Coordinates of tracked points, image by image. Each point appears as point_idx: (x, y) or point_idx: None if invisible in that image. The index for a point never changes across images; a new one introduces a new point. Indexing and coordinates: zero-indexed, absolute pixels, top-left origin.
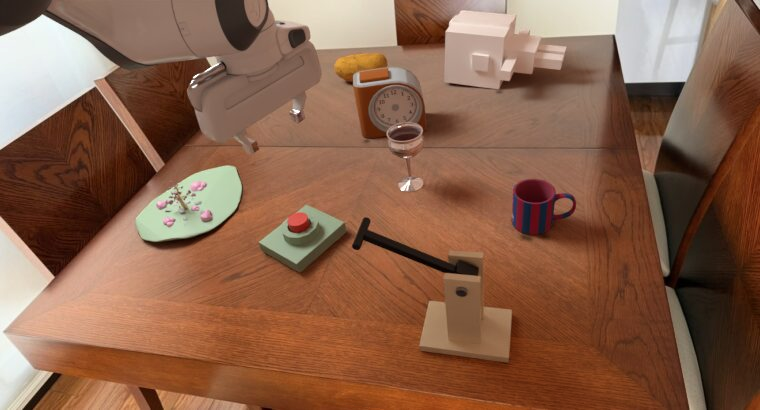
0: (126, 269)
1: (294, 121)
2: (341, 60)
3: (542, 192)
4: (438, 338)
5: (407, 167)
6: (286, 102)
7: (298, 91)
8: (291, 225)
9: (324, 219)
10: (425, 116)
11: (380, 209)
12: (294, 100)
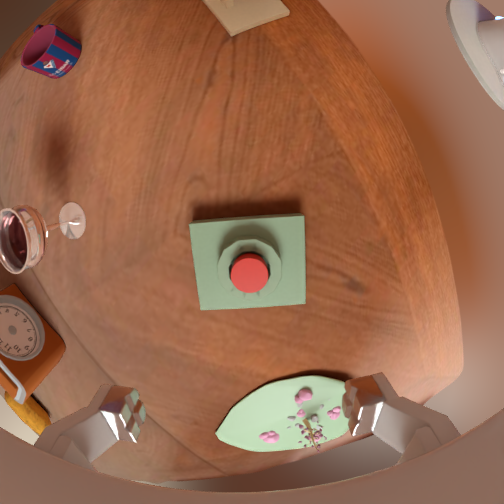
0: (395, 382)
1: (141, 404)
2: (39, 431)
3: (33, 57)
4: (268, 2)
5: (55, 227)
6: (132, 484)
7: (45, 469)
8: (267, 271)
9: (205, 258)
10: (1, 291)
11: (129, 215)
12: (93, 454)
